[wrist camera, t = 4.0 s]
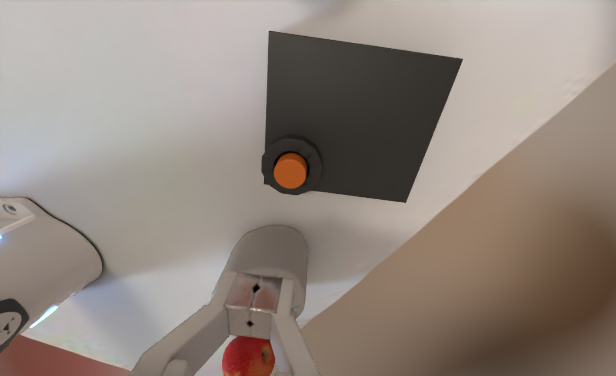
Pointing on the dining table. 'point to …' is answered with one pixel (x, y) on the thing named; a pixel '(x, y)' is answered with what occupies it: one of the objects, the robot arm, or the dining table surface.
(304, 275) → the lumpy-topped squat cylinder
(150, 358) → the robot arm
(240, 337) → the apple
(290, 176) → the button
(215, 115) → the dining table surface
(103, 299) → the dining table surface
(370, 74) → the dark grey flat block
